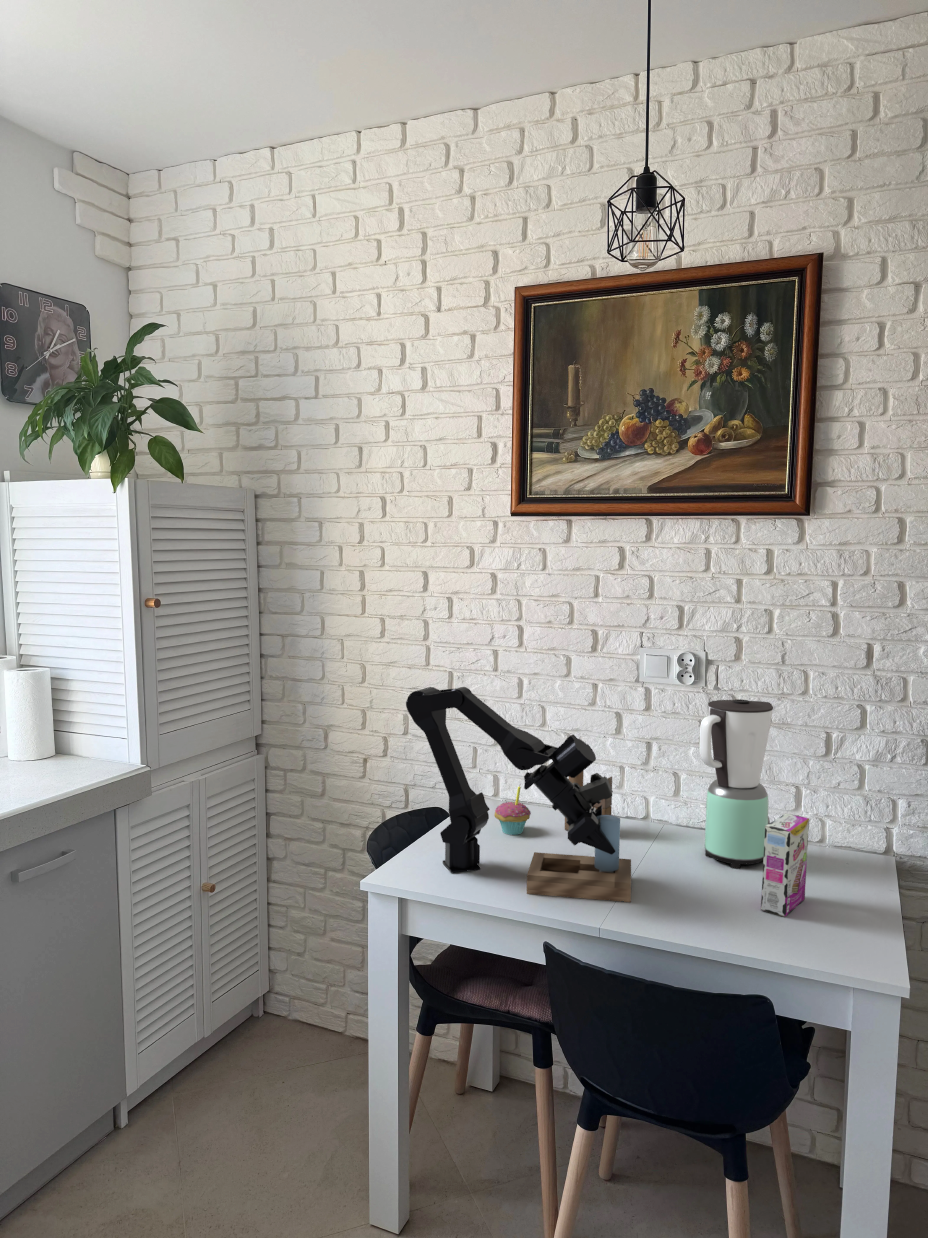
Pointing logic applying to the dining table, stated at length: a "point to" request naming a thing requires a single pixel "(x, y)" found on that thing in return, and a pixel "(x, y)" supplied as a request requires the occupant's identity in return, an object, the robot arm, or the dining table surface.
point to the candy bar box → (784, 864)
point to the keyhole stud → (612, 832)
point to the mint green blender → (736, 780)
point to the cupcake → (512, 816)
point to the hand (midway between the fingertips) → (614, 848)
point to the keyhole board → (575, 889)
